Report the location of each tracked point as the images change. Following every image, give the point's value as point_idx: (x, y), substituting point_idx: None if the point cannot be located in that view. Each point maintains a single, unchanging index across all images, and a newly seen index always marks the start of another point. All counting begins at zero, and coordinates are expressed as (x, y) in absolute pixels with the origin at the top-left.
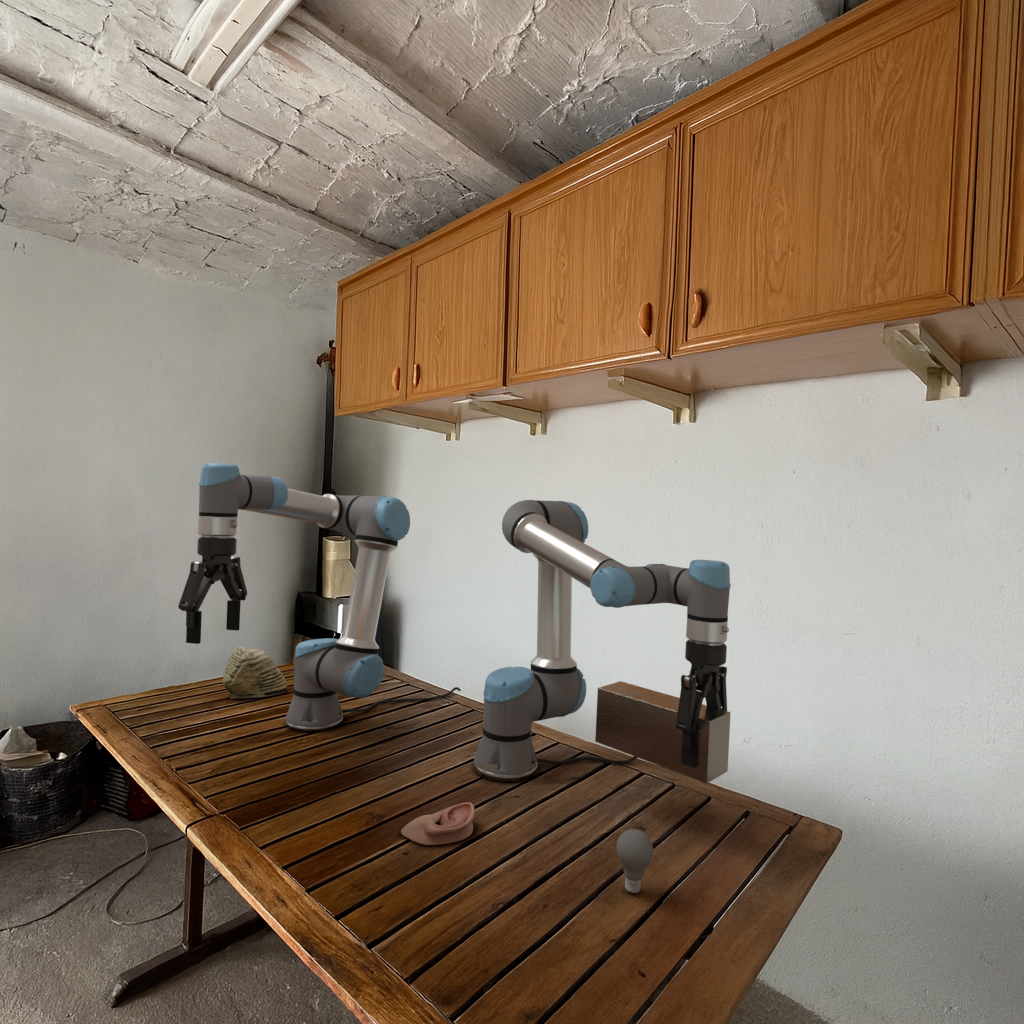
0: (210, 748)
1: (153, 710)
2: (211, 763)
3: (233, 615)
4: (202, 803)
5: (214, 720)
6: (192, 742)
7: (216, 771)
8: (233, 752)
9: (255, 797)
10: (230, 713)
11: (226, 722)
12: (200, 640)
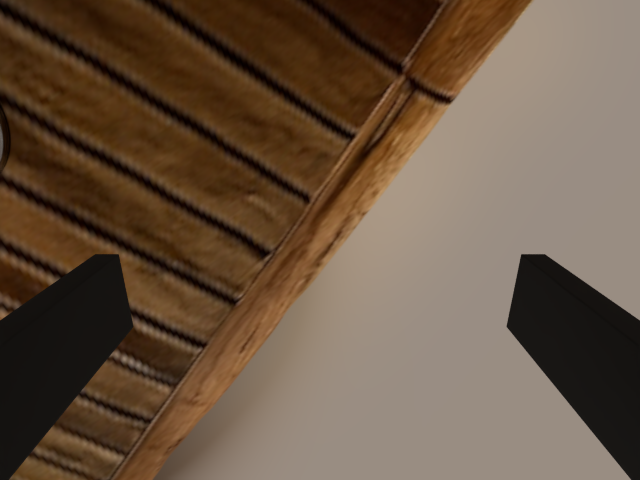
0: (167, 255)
1: (67, 441)
2: (224, 213)
3: (59, 346)
4: (373, 129)
5: None
6: (157, 300)
7: (252, 184)
8: (166, 204)
9: (331, 41)
10: None
11: None
12: (532, 261)
